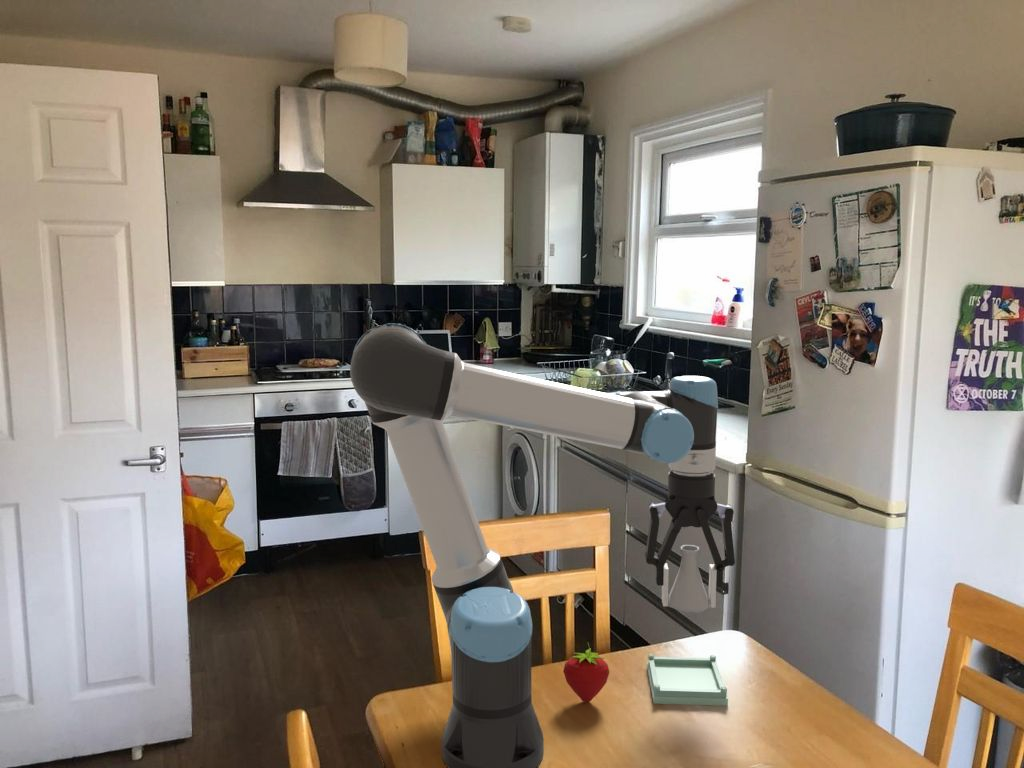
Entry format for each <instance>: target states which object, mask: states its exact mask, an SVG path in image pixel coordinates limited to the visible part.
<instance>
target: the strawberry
mask: <svg viewBox="0 0 1024 768" xmlns="http://www.w3.org/2000/svg"><path fill="white" fill-rule="evenodd" d="M587 645H588V649H586V650H585V653H584V652H583V653H582V652H572V654H573V656H571V657H570V658H569V659H568V660H567V661H566V662H565V663H564V667H563V675H564V679H565V681H566V683H567V685H568V686H569V687H570V689H571V690H572V691H573V692H574V693H575V694H576V696H578V697H579V699H580V700H581V701H582V702H584V703H590V702H591V701H593V699H594V698H595V697H596V696H597V695H598V694H599V693H600V692H601V690H602V689H603V688H604V687H605V685H606V683H607V682H608V678H609V675H610V668H609V665H608V663H607V662H606V661H605V660H604V659H605V658H604V657H602V656H599V654H600V653H598V652H592V650H591V649H592V648H590V644H589V642H587Z"/></svg>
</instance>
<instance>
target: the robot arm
mask: <svg viewBox="0 0 1024 768" xmlns="http://www.w3.org/2000/svg"><path fill="white" fill-rule="evenodd" d="M349 375H350V380H351V383H352V386H353V389H354V390H355V392H356V394H357V395H358V396H359V397H360V399H361V400H363V401H364V404H365V406H366V408H367V412H368V414H369V416H370V419H371V422H372V424H373V425H375V426H377V427H379V428H382V429H384V430H385V431H386V435H387V437H388V440H389V442H390V444H391V447H392V451H393V453H394V456H395V458H396V460H397V461H396V462H397V464H398V466H399V468H400V471H401V474H402V477H403V479H404V483H405V486H406V488H407V490H408V493H409V495H410V498H411V501H412V503H413V504H412V505H413V507H414V509H415V512H416V515H417V518H418V520H419V523H420V526H421V529H422V531H423V535H424V536H425V539H426V542H427V545H428V547H429V549H430V553H431V555H432V558H433V560H434V563H435V565H436V566H435V569H434V571H433V573H432V575H431V578H430V579H431V583H432V585H433V588H434V591H435V594H436V596H437V599H438V602H439V605H440V606H441V607H440V608H441V610H442V612H443V615H444V619H445V621H446V628H447V634H448V639H449V646H450V655H451V656H450V657H451V677H452V678H451V680H452V681H451V682H452V684H451V685H452V688H451V689H452V705H451V708H450V712H449V714H448V718H447V720H446V724H445V727H444V729H443V730H444V731H443V733H442V736H441V757H443V758H442V761H443V760H444V761H443V763H444V762H445V763H446V765H447V766H448V767H449V768H537V767H538V766H539V765H540V764H541V762H542V761H543V758H544V752H545V751H544V750H545V749H544V748H545V747H544V745H545V743H544V740H545V739H544V734H543V730H542V728H541V725H540V722H539V719H538V716H537V714H536V710H535V708H534V705H533V701H532V700H533V699H532V697H533V696H532V636H533V627H534V626H533V620H532V616H531V609H530V606H529V604H528V602H527V601H526V599H525V598H523V596H521V595H520V594H519V593H516V592H514V589H513V586H512V583H511V581H510V579H509V577H508V575H507V571H506V568H505V566H504V563H503V561H502V558H501V555H500V553H499V552H498V551H497V550H495V549H492V548H490V547H488V546H487V543H486V541H485V538H484V535H483V531H482V529H481V527H480V523H479V520H478V518H477V515H476V512H475V510H474V507H473V504H472V501H471V498H470V496H469V493H468V491H467V488H466V487H467V486H466V484H465V481H464V478H463V476H462V473H461V469H460V468H459V465H458V462H457V459H456V457H455V453H454V451H453V448H452V445H451V442H450V439H449V437H448V434H447V433H448V432H447V431H446V428H445V426H444V422H443V421H445V420H446V419H447V418H449V417H451V416H453V417H459V418H463V419H468V420H472V421H479V422H483V423H488V424H493V425H499V426H503V427H509V428H513V429H514V428H515V429H517V430H518V429H519V430H524V431H528V432H529V431H530V432H533V433H539V434H544V435H548V436H553V437H559V438H564V439H569V440H574V441H579V442H583V443H588V444H594V445H599V446H604V447H608V448H615V449H619V450H623V451H626V452H632V453H635V454H641V455H645V456H647V457H648V458H650V459H651V460H654V461H655V462H656V461H657V462H660V463H662V464H668V468H669V469H670V470H669V471H668V473H667V474H668V477H667V495H666V496H667V497H666V499H665V500H664V502H661V503H654V502H650V503H649V505H648V509H649V514H650V521H649V526H648V533H647V534H648V535H647V539H646V547H645V553H644V557H645V562H646V564H647V565H653V566H655V583H656V585H657V586H661V603H662V606H663V607H668V596H669V571H670V570H669V567H668V563H667V560H668V558H669V555H670V553H671V551H672V549H673V546H674V544H675V542H676V539H677V536H678V534H679V533H680V531H681V530H682V528H688V527H693V528H701V531H702V533H703V535H704V539H705V541H706V543H707V546H708V549H709V552H710V554H711V557H712V560H713V562H714V563H713V564H712V563H709V565H708V566H709V567H708V569H709V570H708V571H709V572H708V601H709V606H710V608H713V609H714V608H716V603H717V602H716V601H717V598H716V597H717V588H722V586H723V585H724V584H723V583H724V582H723V581H724V570H725V568H726V567H733V566H734V565H735V564H736V560H735V548H734V539H733V530H732V528H733V527H732V521H733V515H734V514H735V513H734V512H735V511H734V509H733V507H732V505H731V504H729V503H725V504H721V503H717V501H716V499H715V498H716V497H715V496H716V495H715V493H716V490H715V489H716V473H715V472H713V471H715V469H716V463H717V462H716V461H717V459H716V457H717V455H716V454H717V452H716V450H717V449H716V447H717V425H718V424H717V423H718V409H719V403H718V401H719V400H718V399H719V398H718V395H719V394H718V386H717V382H716V381H715V380H714V379H713V378H710V377H707V376H702V375H701V376H700V375H681V376H674V377H672V378H671V379H670V383H669V387H668V389H664V390H649V391H648V390H644V391H643V390H642V391H641V390H640V391H638V390H636V391H633V390H632V391H621V390H617V391H613V392H602V391H597V390H593V389H588V388H583V387H578V386H574V385H570V384H565V383H562V382H561V383H560V382H555V381H552V380H548V379H541V378H537V377H533V376H530V375H529V376H528V375H524V374H519V373H514V372H509V371H505V370H500V369H496V368H492V367H486V366H482V365H477V364H473V363H469V362H464V361H463V360H462V359H461V358H460V356H459V355H458V353H456V352H452V351H448V350H443V349H440V348H436V347H435V346H431V345H430V344H427V342H426V341H425V340H424V339H423V337H422V336H421V335H420V333H418V332H417V331H416V330H415V329H413V328H411V327H410V326H406V325H405V324H401V323H390V322H389V323H384V324H382V325H377V326H374V327H373V328H370V329H369V330H367V331H366V332H365V333H363V334H362V335H361V337H359V339H358V340H357V341H356V344H355V346H354V348H353V352H352V356H351V360H350V367H349ZM664 511H667V513H668V514H669V515H670V517H671V520H670V523H669V526H668V529H667V532H666V534H665V537H664V539H663V540H662V542H661V546H660V547H659V550H658V553H657V555H655V553H656V547H657V540H658V533H659V527H660V518H662V517H663V515H664ZM715 512H717V513H718V516H719V518H720V520H721V521H720V523H721V530H722V532H721V533H722V541H723V549H724V550H723V551H724V556H721V555H720V551H719V548H718V546H717V544H716V542H715V539H714V535H713V532H712V529H711V527H710V524H709V522H708V521H709V520H710V518H711V517H712V516H713V515H714V514H715ZM445 763H444V764H445ZM446 765H445V766H446ZM447 766H446V767H447ZM448 767H447V768H448Z"/></svg>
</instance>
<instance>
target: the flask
mask: <svg viewBox="0 0 1024 768" xmlns="http://www.w3.org/2000/svg"><path fill="white" fill-rule="evenodd" d="M680 552H681V561H680V565H679V569H678V572H677V574H676V576H675V580H674V583H673V585H672V587H671V589H670V591H669V593H668V606H667V607H669V608H672V609H674V610H676V611H677V610H678V611H679V612H682V613H683V612H685V613H686V612H687V613H698V614H699V613H702V612H703V611H706V610H708V609H710V608H711V607H710V604H709V601H708V598H709V596H708V595H707V591H706V588H705V585H704V583H703V579H702V575H701V573H700V572H701V571H700V570H699V564H698V563H699V562H698V554H699V553H700V546H697V545H694V544H683V545H681V546H680Z"/></svg>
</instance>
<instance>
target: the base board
mask: <svg viewBox="0 0 1024 768" xmlns="http://www.w3.org/2000/svg"><path fill="white" fill-rule="evenodd" d="M647 657H648V661H646V668H647V669H646V670H647V675H648V680H649V685H650V691H651V697H652V703H653V704H659V705H660V704H661V705H662V704H663V705H689V706H690V705H692V706H696V705H697V706H719V707H720V706H726V707H727V706H729V698H728V695H727V694H728V693H727V692H728V688H727V687H725V683H724V681H723V677H722V675H721V672H720V669H719V666H718V664H717V656H715V655H713V654H712V655H709V657H706V658H705V657H683V656H682V657H679V656H678V657H677V656H669V657H668V656H655V655H654V654H653V653H648V656H647Z"/></svg>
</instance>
